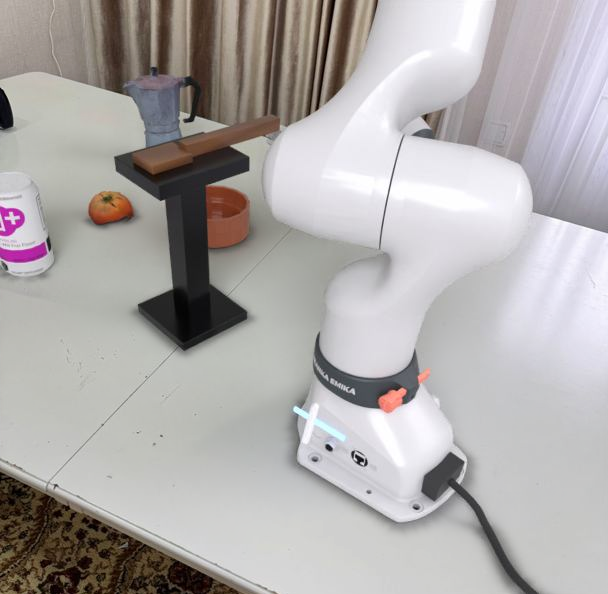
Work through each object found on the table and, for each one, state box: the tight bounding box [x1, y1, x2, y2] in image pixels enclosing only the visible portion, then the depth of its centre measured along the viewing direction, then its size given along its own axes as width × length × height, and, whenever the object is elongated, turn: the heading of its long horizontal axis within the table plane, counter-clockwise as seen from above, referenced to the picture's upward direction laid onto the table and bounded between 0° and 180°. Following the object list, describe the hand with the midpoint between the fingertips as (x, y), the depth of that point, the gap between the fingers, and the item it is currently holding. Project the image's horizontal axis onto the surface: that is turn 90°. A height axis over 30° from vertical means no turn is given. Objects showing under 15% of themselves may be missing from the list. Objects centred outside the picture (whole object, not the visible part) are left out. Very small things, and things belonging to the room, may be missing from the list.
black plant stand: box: [113, 131, 251, 352], centre depth 88 cm, size 12×14×26 cm
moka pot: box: [122, 66, 202, 148], centre depth 130 cm, size 10×15×20 cm, turn 107°
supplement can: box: [0, 171, 55, 278], centre depth 99 cm, size 8×8×15 cm
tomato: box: [87, 190, 135, 226], centre depth 117 cm, size 8×7×7 cm
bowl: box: [206, 184, 251, 249], centre depth 114 cm, size 13×13×6 cm
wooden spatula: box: [132, 113, 281, 175], centre depth 82 cm, size 4×22×2 cm, turn 134°
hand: (291, 143), depth 92 cm, fingers open, 8 cm apart
